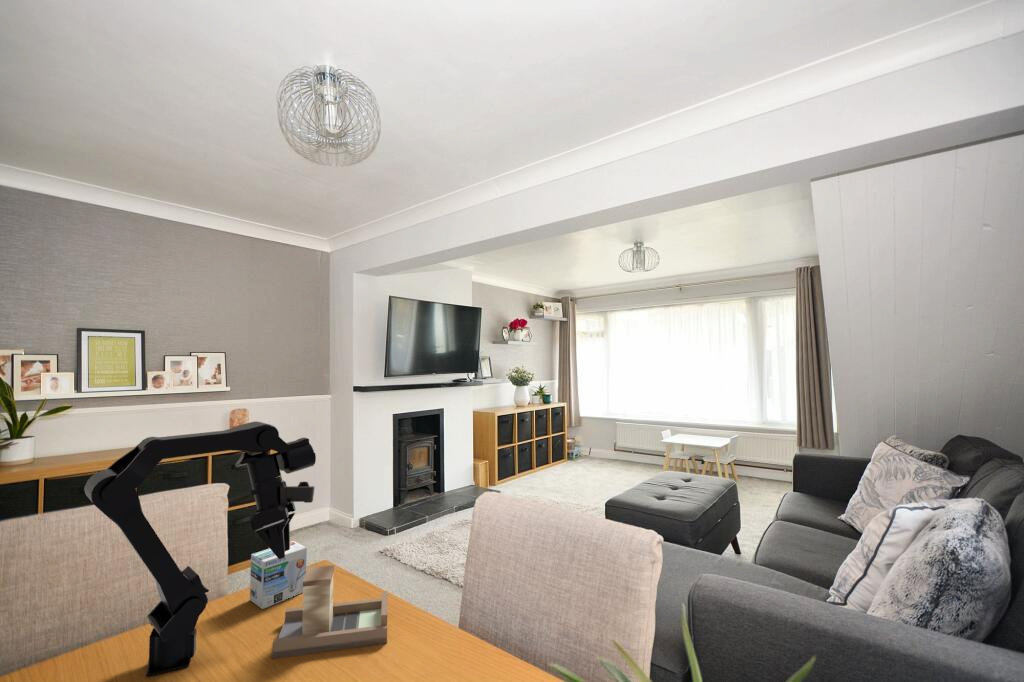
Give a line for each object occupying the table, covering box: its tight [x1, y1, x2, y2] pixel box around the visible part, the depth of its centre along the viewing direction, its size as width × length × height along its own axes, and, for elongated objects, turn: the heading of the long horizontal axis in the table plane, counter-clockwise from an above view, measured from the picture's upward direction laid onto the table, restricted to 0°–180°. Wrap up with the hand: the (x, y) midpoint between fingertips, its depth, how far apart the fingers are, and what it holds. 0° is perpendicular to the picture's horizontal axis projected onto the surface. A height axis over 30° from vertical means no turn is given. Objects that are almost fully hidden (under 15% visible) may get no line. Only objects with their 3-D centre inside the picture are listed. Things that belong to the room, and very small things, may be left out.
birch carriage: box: [302, 565, 335, 635], centre depth 97 cm, size 5×6×11 cm
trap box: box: [272, 590, 389, 659], centre depth 98 cm, size 21×12×5 cm, turn 104°
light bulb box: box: [249, 540, 308, 610], centre depth 113 cm, size 11×7×11 cm, turn 143°
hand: (284, 554), depth 98 cm, fingers open, 9 cm apart
